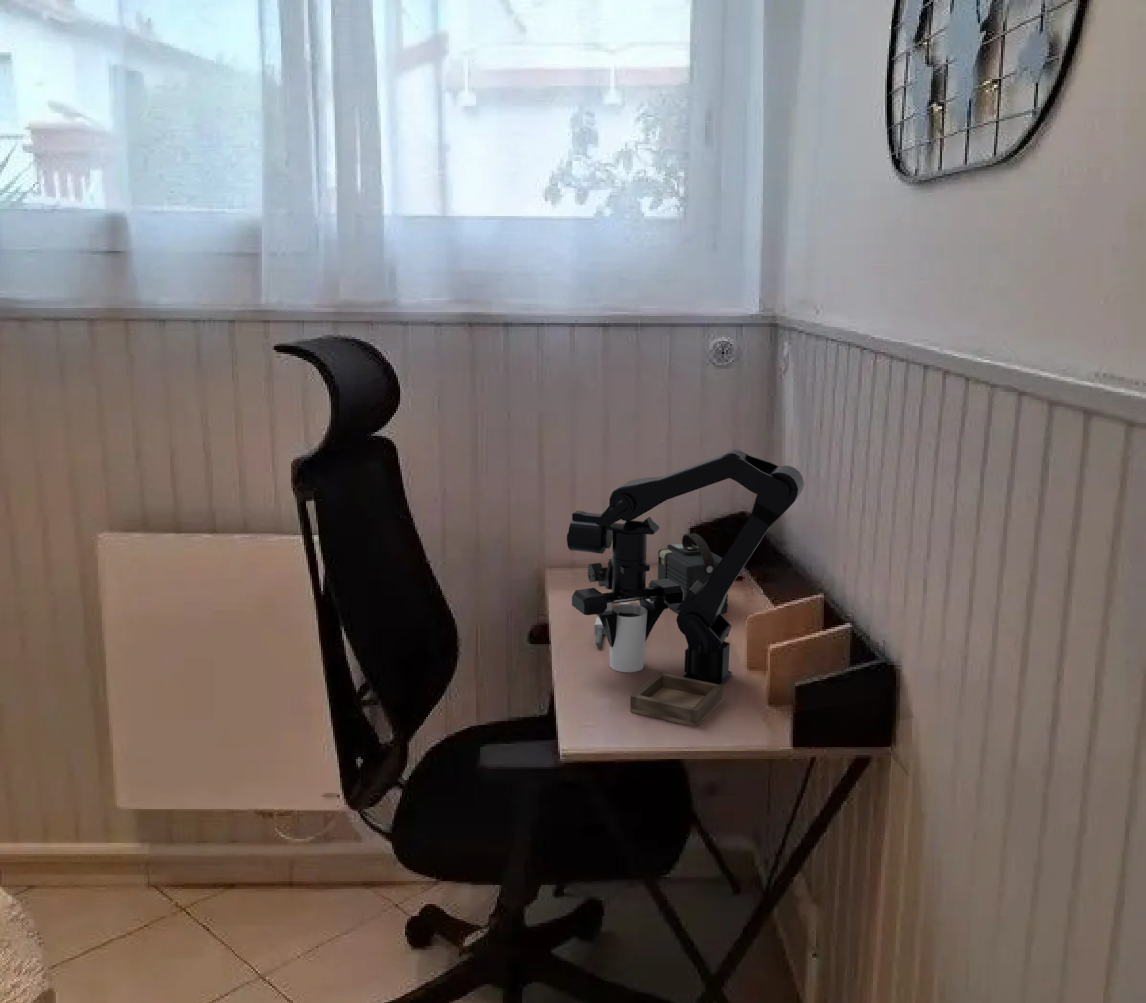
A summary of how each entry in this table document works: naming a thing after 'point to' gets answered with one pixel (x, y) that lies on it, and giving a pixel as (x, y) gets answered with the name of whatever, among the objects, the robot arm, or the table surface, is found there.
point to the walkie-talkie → (599, 627)
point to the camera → (688, 565)
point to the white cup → (629, 638)
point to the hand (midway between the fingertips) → (627, 643)
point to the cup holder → (677, 699)
